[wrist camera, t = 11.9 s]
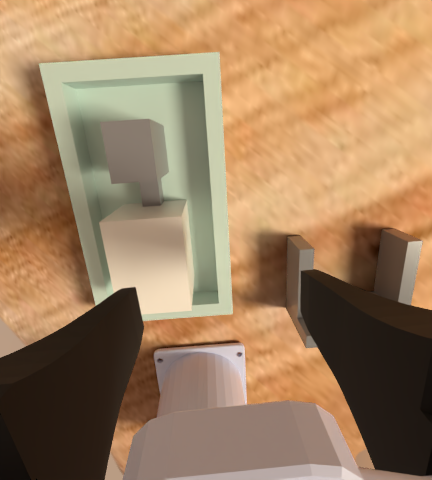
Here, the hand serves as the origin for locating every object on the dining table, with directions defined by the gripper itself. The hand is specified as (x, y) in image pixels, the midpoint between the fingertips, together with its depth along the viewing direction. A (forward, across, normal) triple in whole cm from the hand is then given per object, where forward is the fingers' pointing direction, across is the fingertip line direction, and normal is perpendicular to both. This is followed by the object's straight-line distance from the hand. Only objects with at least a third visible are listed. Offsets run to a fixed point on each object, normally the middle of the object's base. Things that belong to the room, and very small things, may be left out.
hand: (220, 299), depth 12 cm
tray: (+10, +4, -3) cm, 11 cm away
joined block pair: (+9, +4, -2) cm, 10 cm away
